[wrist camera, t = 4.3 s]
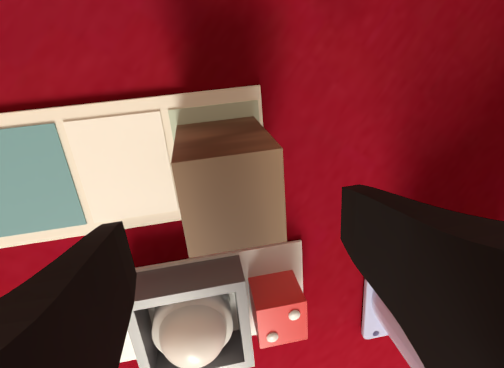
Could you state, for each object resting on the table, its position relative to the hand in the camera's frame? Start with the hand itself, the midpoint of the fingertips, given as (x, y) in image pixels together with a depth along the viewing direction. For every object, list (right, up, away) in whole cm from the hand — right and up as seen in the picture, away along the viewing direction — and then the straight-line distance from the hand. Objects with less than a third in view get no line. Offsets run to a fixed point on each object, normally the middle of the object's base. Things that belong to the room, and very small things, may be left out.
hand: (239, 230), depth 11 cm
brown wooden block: (-1, +3, +7) cm, 8 cm away
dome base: (-4, -6, +11) cm, 13 cm away
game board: (-6, +2, +7) cm, 10 cm away
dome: (-3, -7, +11) cm, 13 cm away
